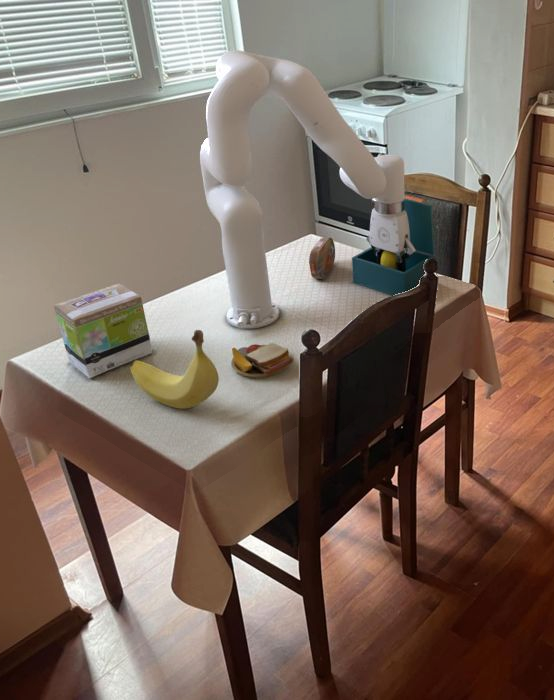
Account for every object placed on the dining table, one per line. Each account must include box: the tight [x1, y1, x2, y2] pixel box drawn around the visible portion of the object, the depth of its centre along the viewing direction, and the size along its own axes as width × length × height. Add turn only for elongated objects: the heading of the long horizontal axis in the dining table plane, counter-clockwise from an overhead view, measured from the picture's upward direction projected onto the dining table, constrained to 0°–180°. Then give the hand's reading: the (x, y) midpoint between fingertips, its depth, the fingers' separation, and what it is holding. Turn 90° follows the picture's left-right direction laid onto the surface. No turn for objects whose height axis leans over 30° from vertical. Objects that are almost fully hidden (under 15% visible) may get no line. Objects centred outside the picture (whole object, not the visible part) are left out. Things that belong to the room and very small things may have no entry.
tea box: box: [53, 282, 153, 379], centre depth 157 cm, size 15×10×15 cm, turn 137°
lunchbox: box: [351, 246, 435, 296], centre depth 191 cm, size 13×17×7 cm
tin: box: [308, 237, 336, 280], centre depth 196 cm, size 15×3×8 cm, turn 168°
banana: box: [130, 329, 220, 409], centre depth 141 cm, size 23×6×20 cm, turn 62°
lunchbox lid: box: [405, 194, 436, 256], centre depth 190 cm, size 14×17×6 cm
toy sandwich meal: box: [230, 342, 294, 379], centre depth 157 cm, size 12×14×5 cm
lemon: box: [381, 250, 398, 270], centre depth 189 cm, size 6×6×8 cm
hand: (391, 270), depth 190 cm, fingers closed on lemon, 5 cm apart
